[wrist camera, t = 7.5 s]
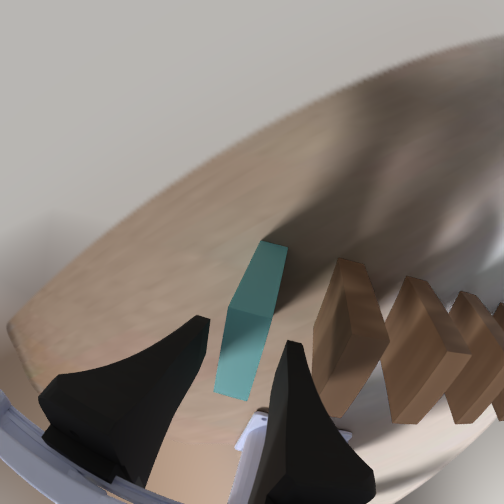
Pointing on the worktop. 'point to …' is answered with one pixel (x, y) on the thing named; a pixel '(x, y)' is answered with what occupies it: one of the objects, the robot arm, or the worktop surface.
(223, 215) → the worktop surface
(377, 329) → the domino
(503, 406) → the domino
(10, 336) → the worktop surface
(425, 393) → the domino
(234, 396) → the domino
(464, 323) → the domino
